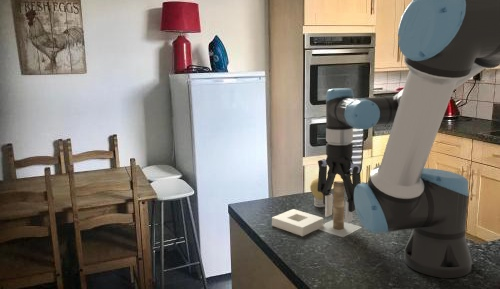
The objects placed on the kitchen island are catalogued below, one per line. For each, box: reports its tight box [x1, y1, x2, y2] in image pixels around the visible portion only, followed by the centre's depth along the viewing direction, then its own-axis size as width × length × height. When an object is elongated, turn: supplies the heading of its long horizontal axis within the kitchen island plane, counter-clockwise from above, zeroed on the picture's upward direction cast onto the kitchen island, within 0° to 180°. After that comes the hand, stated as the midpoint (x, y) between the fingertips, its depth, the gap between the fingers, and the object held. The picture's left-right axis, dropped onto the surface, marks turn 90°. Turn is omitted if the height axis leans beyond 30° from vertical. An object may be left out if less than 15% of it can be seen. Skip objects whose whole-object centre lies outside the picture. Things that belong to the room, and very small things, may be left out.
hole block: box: [271, 208, 325, 237], centre depth 128 cm, size 12×10×3 cm
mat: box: [318, 219, 363, 238], centre depth 126 cm, size 10×10×1 cm
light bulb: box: [309, 178, 325, 208], centre depth 145 cm, size 6×6×10 cm
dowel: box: [332, 180, 346, 230], centre depth 125 cm, size 3×3×14 cm
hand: (338, 218), depth 126 cm, fingers open, 6 cm apart
